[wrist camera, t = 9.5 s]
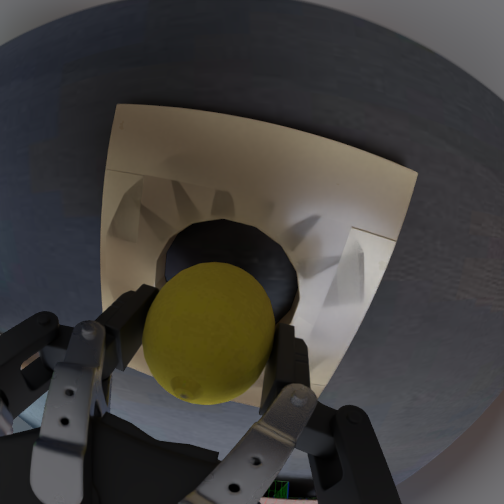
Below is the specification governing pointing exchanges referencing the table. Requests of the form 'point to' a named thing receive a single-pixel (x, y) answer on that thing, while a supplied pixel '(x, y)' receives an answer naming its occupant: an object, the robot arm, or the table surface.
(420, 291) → the table surface
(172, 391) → the lemon
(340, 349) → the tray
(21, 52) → the table surface
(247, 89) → the table surface
